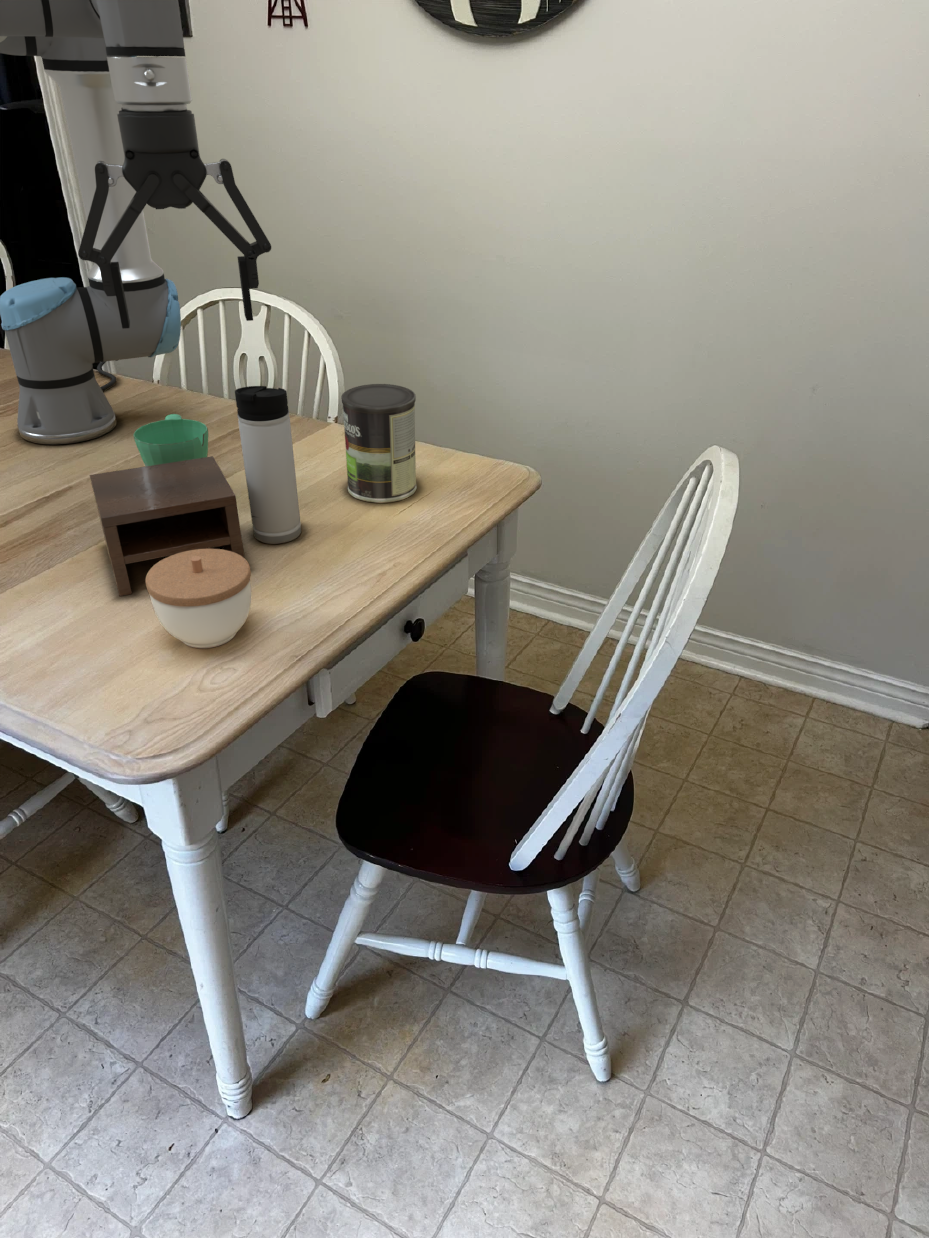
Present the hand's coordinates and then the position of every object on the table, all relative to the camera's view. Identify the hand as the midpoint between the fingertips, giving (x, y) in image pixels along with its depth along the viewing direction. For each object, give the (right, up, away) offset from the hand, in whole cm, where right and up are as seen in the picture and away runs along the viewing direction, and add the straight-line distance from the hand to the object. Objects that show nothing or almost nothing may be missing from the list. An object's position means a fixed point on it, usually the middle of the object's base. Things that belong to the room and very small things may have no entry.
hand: (188, 322), depth 100 cm
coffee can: (+20, -15, +29) cm, 38 cm away
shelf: (-5, -27, +10) cm, 29 cm away
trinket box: (+3, -36, -4) cm, 36 cm away
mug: (-9, -16, +27) cm, 33 cm away
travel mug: (+7, -23, +16) cm, 29 cm away
